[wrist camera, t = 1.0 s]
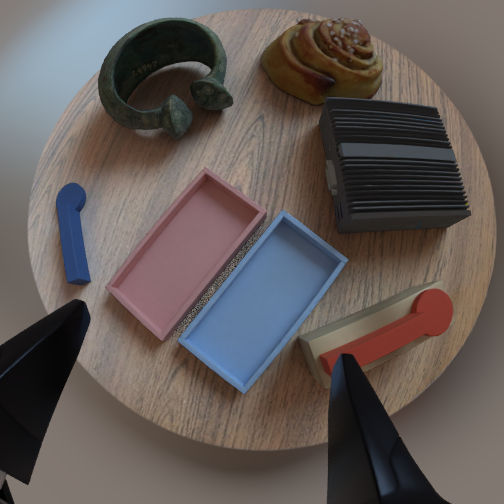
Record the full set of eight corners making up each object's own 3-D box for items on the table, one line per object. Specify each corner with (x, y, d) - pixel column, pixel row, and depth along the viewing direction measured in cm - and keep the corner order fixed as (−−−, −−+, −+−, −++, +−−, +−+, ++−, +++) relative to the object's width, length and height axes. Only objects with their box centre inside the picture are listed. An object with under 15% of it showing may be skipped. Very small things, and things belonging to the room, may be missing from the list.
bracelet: (158, 174, 31) (123, 121, 21) (97, 107, 33) (64, 58, 24) (261, 95, 33) (262, 31, 23) (186, 44, 35) (173, -10, 26)
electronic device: (454, 227, 29) (480, 214, 24) (332, 234, 29) (346, 218, 24) (426, 128, 32) (444, 106, 27) (313, 122, 32) (320, 94, 27)
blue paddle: (59, 193, 31) (48, 185, 29) (84, 180, 31) (74, 172, 29) (71, 288, 29) (58, 286, 26) (99, 278, 29) (87, 274, 26)
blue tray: (245, 389, 27) (244, 394, 25) (181, 339, 28) (176, 340, 26) (343, 263, 29) (348, 259, 27) (281, 215, 30) (282, 209, 28)
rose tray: (167, 340, 28) (161, 341, 26) (113, 289, 29) (105, 287, 27) (266, 217, 30) (267, 211, 28) (207, 174, 31) (205, 166, 29)
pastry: (395, 96, 33) (417, 56, 25) (291, 118, 32) (299, 69, 24) (345, 34, 36) (356, -6, 28) (250, 48, 35) (249, 3, 27)
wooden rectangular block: (411, 287, 28) (442, 279, 22) (423, 323, 27) (455, 322, 21) (297, 336, 27) (307, 341, 22) (311, 375, 27) (324, 390, 21)
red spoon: (438, 282, 22) (455, 278, 20) (451, 323, 21) (468, 323, 19) (313, 340, 22) (320, 343, 19) (330, 386, 21) (338, 394, 18)
